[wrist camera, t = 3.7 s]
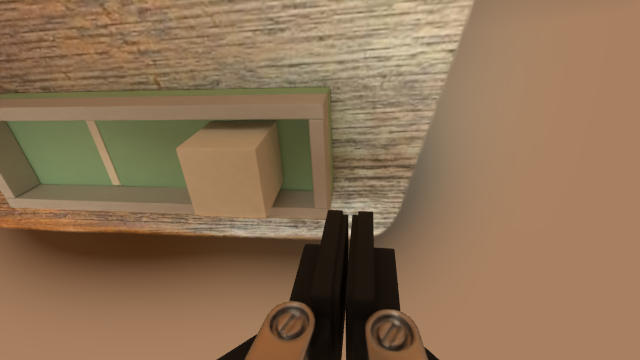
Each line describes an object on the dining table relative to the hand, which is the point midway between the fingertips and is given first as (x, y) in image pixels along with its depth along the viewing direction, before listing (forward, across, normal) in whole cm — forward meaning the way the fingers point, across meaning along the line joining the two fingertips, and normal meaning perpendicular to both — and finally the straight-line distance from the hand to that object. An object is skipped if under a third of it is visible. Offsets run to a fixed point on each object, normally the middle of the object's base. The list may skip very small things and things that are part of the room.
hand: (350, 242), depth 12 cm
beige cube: (+8, +7, 0) cm, 10 cm away
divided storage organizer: (+9, +13, 0) cm, 16 cm away
